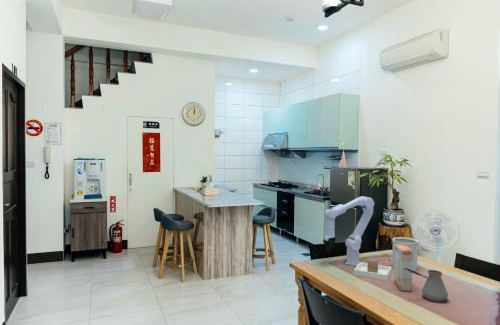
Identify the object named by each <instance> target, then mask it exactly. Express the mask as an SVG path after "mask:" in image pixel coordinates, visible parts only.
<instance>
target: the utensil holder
mask: <svg viewBox="0 0 500 325" xmlns="http://www.w3.org/2000/svg"><path fill="white" fill-rule="evenodd" d="M391 242H392V268H394V269H395V245H396V244H403V245H407V246H408V247H409V248H410V249H411V250H412V251H413V257H412V270H413V271H416V272H417V270H418V254H419V253H418V251H419V244H420V243H419V240H418V239H415V238H411V237H401V236H399V237H398V236H397V237H392V240H391Z"/></svg>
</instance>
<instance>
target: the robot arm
mask: <svg viewBox="0 0 500 325" xmlns="http://www.w3.org/2000/svg"><path fill="white" fill-rule="evenodd" d="M357 206H359V207H361V209H362V210H363V213H362V214H361V216H360V219H359V221H358V222H357V224H356V226H355V228H354V231H353V233H352V234H350V235H349V236H348V238H346V239H345V242H344V244H345V246H346V262H344V264H345V265H349V266H356V267H357V266H358V264H359V263H360V262H361V261H360V252H359V250H360V249H361V244H362V236H363V235H364V232H365V230H366V228H367V226H368V224H369V223H370V220H371V218H372V216H373V214H374V207H375V201H374V199H373V198H372V197H368V196H364V195H361V196H358V197H356V198H354V199H353V200H350V201H349V202H347V203H345V204H342V203H339V204H337V205H336V206H334V207H333V206H332V207H331V208H327V209H326V210H325V211H324V213H323V216H324V217H325V221H324V222H325V226H324V229H325V230H324V234H323V237H324V238H323V239H322V242H323V244H324V247H325V252H330V251H331V249H332V250H333V249H334V247H335V243H336V240H337V237H336V236H335V235H336V233H335V228H336V226H335V225H336V222H335V221H336V220H335V219H336V217H338V216H340V215H343V214H345V213H346V211H347V210H349V209H352V208H354V207H357Z"/></svg>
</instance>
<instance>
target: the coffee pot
mask: <svg viewBox="0 0 500 325" xmlns="http://www.w3.org/2000/svg"><path fill="white" fill-rule="evenodd" d="M405 269H406V270H408V271H410V272H412V274H415V275H417V276H420V277H422V278H425V279H426V280H425V282H424V285H423V286H422V289H421V293H422V295H423V296H424V297H425V298H426V299H427V300H430V301H432V302H444V301H445V300H446V299H448V297H449V293H448V290H447V289H446V286H445V284H444V282H443V281H444V280H443V279H442V275H443V271H440V270H437V269H436V270H435V269H428V270H427V274H428V276H426V275H424V274H422V273H419V272H417V270H416V271H413V270H410V269H407V268H405ZM403 270H404V269H403ZM406 270H405V271H406ZM403 272H404V271H403Z"/></svg>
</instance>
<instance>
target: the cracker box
mask: <svg viewBox="0 0 500 325" xmlns="http://www.w3.org/2000/svg"><path fill="white" fill-rule="evenodd" d="M412 257H413V251H412V250H411V249H410V248H409V247H408V246H407V245H403V244H396V245H395V268H394V283H395V284H396V286H397V288H398V290H399V291H402V292H403V291H404V292H412V290H413V287H412V286H413V284H412V283H413V273H412V272H410V271H408V270H406V269H405V268H407V269H410V270H412ZM403 269H404V270H403ZM405 270H406V271H405ZM403 271H404V272H403Z"/></svg>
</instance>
